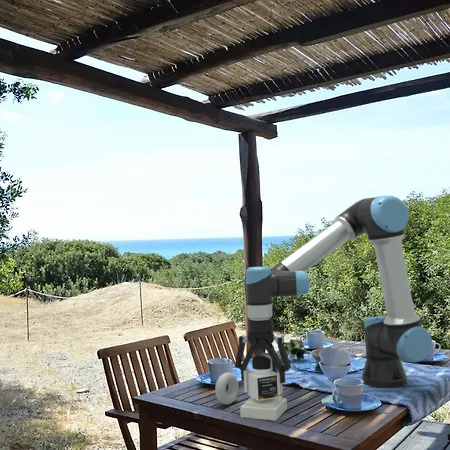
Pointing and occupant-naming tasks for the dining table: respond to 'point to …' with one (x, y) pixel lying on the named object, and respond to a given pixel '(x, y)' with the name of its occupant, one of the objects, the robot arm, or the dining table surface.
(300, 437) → the dining table surface
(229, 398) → the donut
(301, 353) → the passion flower
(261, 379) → the medicine bottle
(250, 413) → the plinth
